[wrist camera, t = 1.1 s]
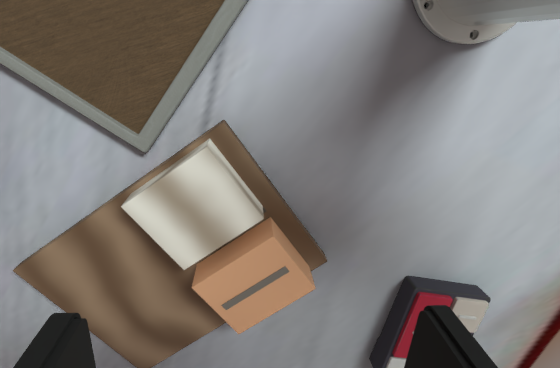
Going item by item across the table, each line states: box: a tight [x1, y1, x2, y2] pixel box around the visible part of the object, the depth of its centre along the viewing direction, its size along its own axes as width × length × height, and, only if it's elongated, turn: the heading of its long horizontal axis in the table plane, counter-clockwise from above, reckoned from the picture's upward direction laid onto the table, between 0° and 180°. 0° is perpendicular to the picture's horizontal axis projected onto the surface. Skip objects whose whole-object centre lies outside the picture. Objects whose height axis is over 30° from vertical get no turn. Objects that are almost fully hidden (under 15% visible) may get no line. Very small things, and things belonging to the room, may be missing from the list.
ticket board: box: [13, 120, 327, 368], centre depth 37 cm, size 28×20×4 cm
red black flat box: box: [369, 276, 490, 368], centre depth 46 cm, size 11×4×15 cm
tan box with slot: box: [192, 217, 316, 334], centre depth 37 cm, size 10×8×4 cm
